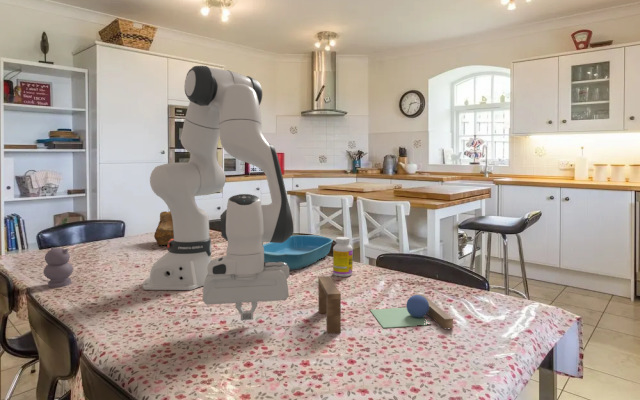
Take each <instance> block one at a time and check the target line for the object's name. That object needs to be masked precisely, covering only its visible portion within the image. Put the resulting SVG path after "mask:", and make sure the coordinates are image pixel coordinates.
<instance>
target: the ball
mask: <svg viewBox="0 0 640 400" xmlns="http://www.w3.org/2000/svg"><path fill="white" fill-rule="evenodd" d="M406 307H407V311H408V312H409V314H410V315H411V316H413V317H416V318H421V317H425V316H427V315H428V314H427V313H428V311H429V303H428V301H427V300H426V298H424V297H423V296H421V295H420V294H415V295H412V296H410V297H409V298H408V299H407V301H406Z"/></svg>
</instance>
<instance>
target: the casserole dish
mask: <svg viewBox="0 0 640 400" xmlns="http://www.w3.org/2000/svg"><path fill="white" fill-rule="evenodd" d="M333 241H334V240H333V239H332V238H330V237H327V236H323V235H315V234H313V235H312V234H308V235H307V234H302V235H301V234H300V235H299V234H295V235H291V236H290V237H289V238H288V239H287V240H286V241H285V242H283V243H273V242H266V243H263V247H264V262H283V263H285V264H287V265H288V267H289V270H300V269H303V267H304V268H305V267H308V266H310V265H312V264H315V263H316V262H317V260H318V261H320V260H322V259H324V257H326V256H327V255H328V254H330V251H331V248H332V244H333ZM321 258H322V259H321ZM319 259H320V260H319ZM283 266H285V265H283Z"/></svg>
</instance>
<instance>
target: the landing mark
mask: <svg viewBox="0 0 640 400" xmlns="http://www.w3.org/2000/svg"><path fill="white" fill-rule="evenodd" d="M369 311H370V312H371V314H372V315H373V316H374V318H375V319H376V320H377V322H378V323H379V325H380V326H381V327H382V328H383V329H390V328H391V329H393V328H405V327H406V328H408V327H407V326H410V327H418V326H417V325H424V323H425V325H424V326H428V325H427V324H428V323H427V324H426V320H427V319H426V318H425V316H423V317H421V318H416V317H413V316H411V315H410V314H409V312H408V311H407V307H405V306H404V307H392V308H378V309H377V308H375V309H370V310H369ZM425 319H426V320H425ZM424 321H425V322H424ZM427 322H429V323H431V322H430V321H429V320H428V321H427Z"/></svg>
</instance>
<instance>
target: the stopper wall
mask: <svg viewBox="0 0 640 400" xmlns="http://www.w3.org/2000/svg"><path fill="white" fill-rule="evenodd" d="M419 295H421V296H423V297H424V298H426V300H427V301H428V303H429V311H428V314H429V315H430V316H431V317H430V318H432V319H433V318H434V319H435V320H436V321H437V322H438V323H439V324H440V325H441V326H440V325H439V324H438V323H437V322H436V321H435V320H434V319H433V320H434V321H435V322H436V323H437V324H438V325H439V326H440V327H441V328H443V327H444V328H453V329H454V318H453V317H452V316H451V315H449V314H448V313H447V312H446V311H444V310H443V309H442V308H441V307H440V306H438V305H437V304H436V303H434V302H433V301H432V300H431V299H430V298H429V297H427V296H426V295H425V294H423V293H422V294H419ZM428 314H427V315H428ZM429 315H428V316H429ZM444 328H443V329H444Z"/></svg>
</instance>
